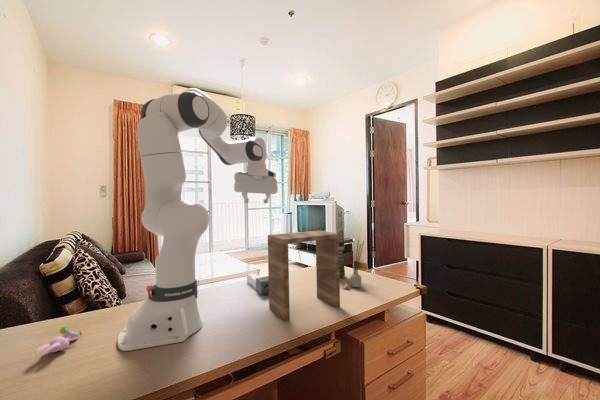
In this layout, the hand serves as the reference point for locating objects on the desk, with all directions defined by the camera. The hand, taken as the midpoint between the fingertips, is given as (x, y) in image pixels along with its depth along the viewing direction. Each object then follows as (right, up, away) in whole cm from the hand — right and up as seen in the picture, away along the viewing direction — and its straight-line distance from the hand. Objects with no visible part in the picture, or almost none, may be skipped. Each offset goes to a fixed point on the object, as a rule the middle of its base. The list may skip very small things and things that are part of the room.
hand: (256, 202), depth 131 cm
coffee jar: (+37, -36, +7) cm, 52 cm away
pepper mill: (+3, -37, -8) cm, 38 cm away
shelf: (+22, -37, -30) cm, 52 cm away
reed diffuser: (+44, -36, -10) cm, 58 cm away
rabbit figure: (-44, -39, -54) cm, 80 cm away
